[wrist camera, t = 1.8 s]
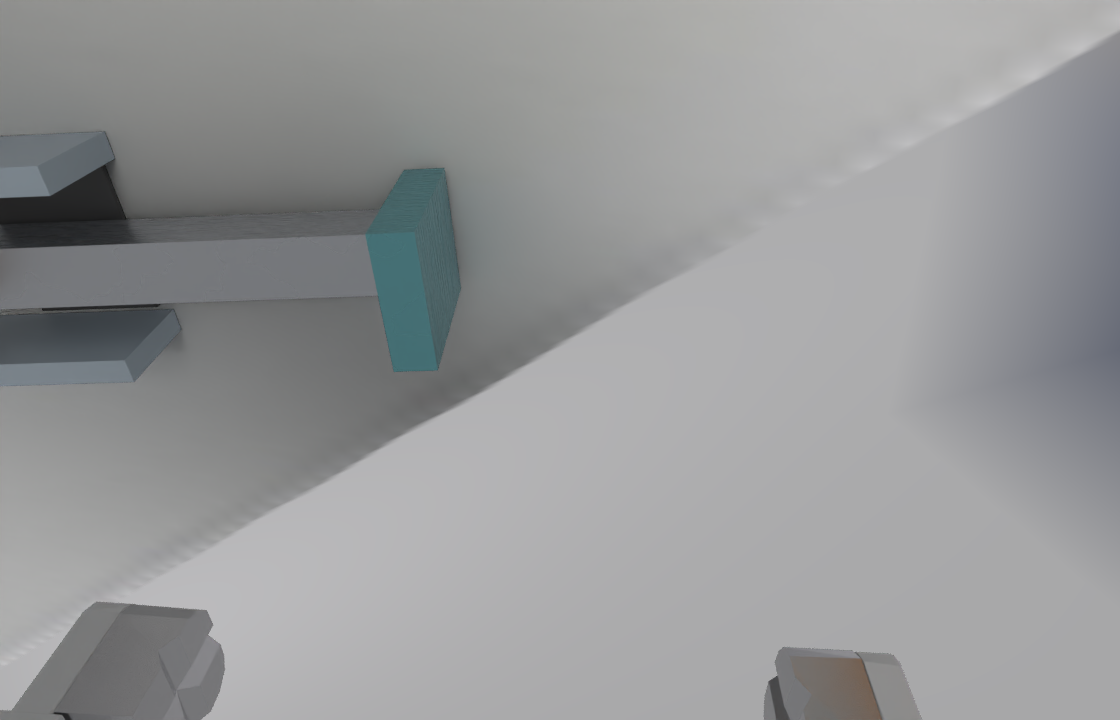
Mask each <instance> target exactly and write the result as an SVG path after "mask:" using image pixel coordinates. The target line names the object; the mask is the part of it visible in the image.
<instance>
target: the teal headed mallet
mask: <svg viewBox="0 0 1120 720" xmlns="http://www.w3.org/2000/svg"><path fill="white" fill-rule="evenodd" d="M460 290H461V286H460V278H459V271H458V264H457V257H456V249H455V242H454V235H453V228H452V220H451V213H450V206H449V199H448V191H447V184H446V177H445V170H444V168H436V169H412V170H404V171H403V173H402V174H401V176H400V178H399V179H398V181H397V183H396V184H395V186H394V187H393V189H392V191H391V192H390V194H389V196H388V197H387V199H386V201H385V202H384V204H383V206H382V207H381V209H374V210H349V211H325V212H300V213H275V214H251V215H226V216H201V217H177V218H152V219H127V220H103V221H78V222H54V223H29V224H4V225H0V309H25V308H53V307H81V306H109V305H137V304H165V303H193V302H220V301H248V300H276V299H304V298H332V297H360V296H378V298H379V303H380V308H381V313H382V317H383V322H384V327H385V332H386V337H387V341H388V346H389V351H390V356H391V361H392V365H393V370H394V372H401V371H433V370H438V368H439V364H440V361H441V357H442V353H443V350H444V346H445V343H446V339H447V336H448V332H449V329H450V325H451V322H452V318H453V315H454V311H455V308H456V304H457V300H458V297H459V293H460Z"/></svg>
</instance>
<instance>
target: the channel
mask: <svg viewBox="0 0 1120 720" xmlns="http://www.w3.org/2000/svg"><path fill="white" fill-rule="evenodd" d="M113 159H115V157H114V155H113V152H112V150H111V147H110V144H109V142H108V139H107V137H106V134H105V132H85V133H63V134H41V135H19V136H0V225H4V224H29V223H54V222H78V221H103V220H126V218H125V216H124V213H123V210H122V208H121V205H120V203H119V200H118V198H117V195H116V193H115V190H114V188H113V185H112V183H111V180H110V178H109V175H108V173H107V170H106V168H105V165H104V164H106V163H108V162H109V161H111V160H113ZM159 305H160V304H137V305H109V306H81V307H53V308H42V310H43V311H54V310H82V309H110V308H138V307H158V306H159ZM180 330H181V328H180V325H179V322H178V320H177V317H176V315H175V312H174V309H167V310H139V311H111V312H83V313H54V314H26V315H0V386H25V385H56V384H88V383H120V382H135V381H136V379H137V378H138V377H139V376H140V375H141V374H142V373H143V372H144V370H145V369H146V368H147V367H148V366H149V365H150V364H151V363H152V362H153V360H154V359H155V358H156V357H157V356H158V355H159V354H160V353H161V352H162V350H163V349H164V348H165V347H166V346H167V345H168V344H169V343H170V341H171V340H172V339H173V338H174V337H175V336H176V335H177V334H178V333H179V331H180Z"/></svg>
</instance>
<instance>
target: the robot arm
mask: <svg viewBox="0 0 1120 720" xmlns="http://www.w3.org/2000/svg"><path fill="white" fill-rule="evenodd" d="M212 626H213V623H212V621H211V619H210V617H209V614H208V612H207V611H206V610H197V609H184V608H171V607H159V606H146V605H136V604H124V603H109V602H96V603H94V604H93V605H92V606H90V607H89V608H88V609H86V610H85V611H84V612H83V613H82V614H81V616H80V617H79V618H78V620H77V621H76V623H75V624H74V625H73V627H72V628H71V629H70V631H69V632H68V634H67V635H66V636H65V638H64V639H63V641H62V642H61V643H60V645H59V646H58V648H57V649H56V650H55V651H54V653H53V654H52V656H51V657H50V658H49V660H48V661H47V663H46V664H45V665H44V667H43V668H42V669H41V671H40V672H39V674H38V675H37V676H36V678H35V679H34V680H33V682H32V683H31V685H30V686H29V687H28V689H27V690H26V691H25V693H24V694H23V696H22V697H21V698H20V700H19V701H18V702H17V704H16V705H15V707H14V708H13V709H12V711H6V710H0V720H201V719H202V718H203V717H204V716H206V715H207V714H208V713H209V712H210V711H211V709H212V707H213V705H214V703H215V701H216V698H217V696H218V694H219V692H220V688H221V683H222V679H223V675H224V670H225V668H224V654H223V651H222V648H221V645H220V644H219V643H218V642H216V641H215V640H214V639H212V638H211V637H210V636H209V635H208V634H209V632H210V630H211V628H212ZM775 665H776V670H777V674H778V676H776V677H775V678H773V679H771V680H770V681H769V682H768V686H767V690H766V693H765V700H764V720H922V718H921V716H920V713H919V711H918V708H917V705H916V703H915V700H914V698H913V695H912V693H911V690H910V688H909V685H908V682H907V680H906V677H905V674H904V672H903V670H902V667H901V664H900V662H899V661H898V660H897V659H896V657H895V656H894V655H891V654H888V653H867V652H866V653H865V652H853V651H852V650H831V649H810V648H790V647H783V648H782V649H781V650H779V652H778V655H777V658H776V660H775Z"/></svg>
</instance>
